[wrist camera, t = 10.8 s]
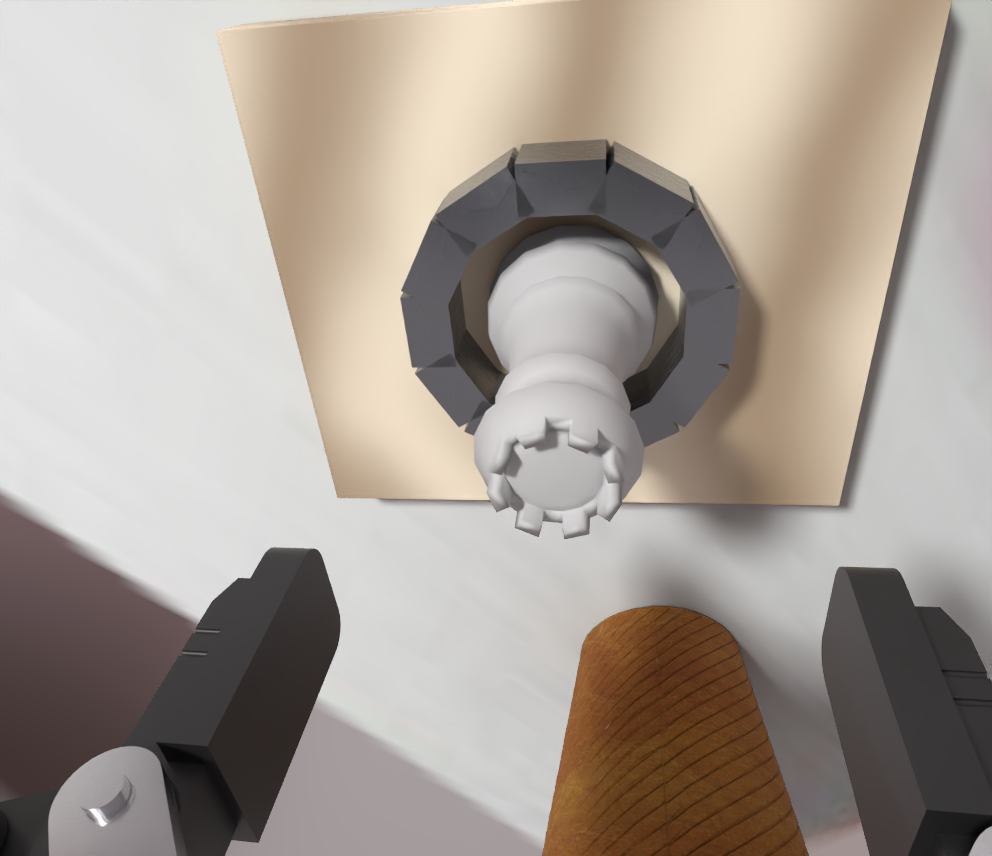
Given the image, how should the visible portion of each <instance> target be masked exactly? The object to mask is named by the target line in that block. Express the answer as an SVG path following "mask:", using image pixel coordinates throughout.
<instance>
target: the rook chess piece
mask: <svg viewBox="0 0 992 856" xmlns="http://www.w3.org/2000/svg"><path fill="white" fill-rule="evenodd" d="M658 299H659V295H658V292H657V289H656V286H655V282H654V279H653V276H652V273H651V270H650V267H649V265H648V264H647V263H646V262H645V261H644V260H643V258H642V257H641V256H640V255H639V254H638V253H637V252H636V251H635V250H634V248H633V247H632V246H631V245H630V244H629V243H628V242H627V241H625V240H623V239H621V238H619V237H617V236H615V235H612V234H610V233H608V232H606V231H604V230H601V229H599V228H597V227H592V226H568V225H559V226H556V227H553V228H550V229H547V230H545V231H542V232H539V233H536V234H533V235H531V236H528V237H526V238H525V239H524V240H523V241H522V242H521V243H519V244H518V245H517V246H516V247H515V248H514V249H513V250H512V251H511V252H510V253H508V254H507V255H506V256H505V257H504V258H503V259H502V261H501V263H500V265H499V268H498V270H497V272H496V274H495V277H494V279H493V281H492V283H491V286H490V298H489V301H488V334H489V337H490V340H491V342H492V344H493V347H494V349H495V351H496V353H497V355H498V358H499V360H500V362H501V364H502V366H504V367H505V368H506V369H507V370H508V372H509V374H508V375H506V376H505V378H504V380H503V382H502V384H501V386H500V388H499V390H498V392H497V394H496V396H495V404H494V405H493V406H492V407H490V408H489V409H488V410H487V411H486V412H485V414H484V416H483V418H482V420H481V422H480V424H479V426H478V428H477V430H476V432H475V434H474V463H475V465H476V467H477V469H478V470H479V472H480V474H481V476H482V478H483V480H484V482H485V484H486V486H487V487H488V488H487V492H486V493H487V495H488V497H489V499H490V501H491V502H492V504H493V506H494V508H495V510H496V512H498V511H501V510H503V509H505V508H508V507H509V506H510V507H511V508H513V509H514V510H516V511H517V517H516V524H515V528H517V529H520V530H522V531H525V532H527V533H530V534H532V535H535V536H537V537H539V534H540V531H541V528H542V521H547V522H559V523H563V524H562V530H563V535H564V539H568V538H573V537H577V536H582V535H587V534H589V526H590V517H593V516H595V515H600V516H601V517H603V518H604V519H606V520H608V521H609V522H610V520H611V519H612V517H613V516H614V515H615V513H616V512H617V510H618V509H619V507H620V506H621V505H622V500H623V499H624V498H625V497H626V496H627V494H628V493H629V492H630V490H631V489H632V487H633V486H634V484H635V483H636V482H637V480H638V479H639V477H640V476H641V471H642V464H643V457H644V449H645V448H644V445H643V442H642V440H641V437H640V434H639V431H638V429H637V426H636V423H635V421H634V420H633V419H632V418H631V417H630V407H631V405H630V402H629V400H628V397H627V394H626V392H625V389H624V386H623V384H622V383H623V382H624V381H625V380H626V379H627V378H629V377H630V376H631V375H633V374H634V373H635V372H636V370H637V369H638V367H639V366H640V364H641V362H642V361H643V359H644V358H645V356H646V354H647V353H648V351H649V350H650V348H651V346H652V344H653V342H654V336H655V329H656V321H657V314H658V311H657V307H658Z"/></svg>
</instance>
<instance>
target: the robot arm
mask: <svg viewBox="0 0 992 856" xmlns="http://www.w3.org/2000/svg"><path fill="white" fill-rule="evenodd" d="M339 636H340V614H339V610H338V606H337V603H336V600H335V597H334V594H333V590H332V587H331V584H330V581H329V578H328V574H327V571H326V568H325V565H324V561H323V558H322V556H321V554H320V552H319V551H318V550H317V549H305V548H270V549H269V550H268V551H267V552H266V553H265V554H264V556H263V558H262V559H261V561H260V563H259V564H258V566H257V568H256V570H255V571H254V573H253V575H252V577H251V578H250V579H248V578H238V579H237V580H236V581H235V582H233V583H232V584H231V585H230V586H229V587H228V588H227V589H226V590H224V591H223V592H222V593H221V594H220V595H219V596H218V597H217V598H215V599H214V600H213V601H212V603H211V604H210V606H209V607H208V609H207V611H206V612H205V614H204V616H203V617H202V619H201V620H200V622H199V624H198V625H197V627H196V633H195V634H194V633H193V634H192V635H191V637H190V638H189V640H188V642H187V643H186V645H185V647H184V648H183V650H182V651H183V653H182V656H178V658H177V660H176V661H175V663H174V664H173V666H172V668H171V669H170V671H169V673H168V674H167V676H166V677H165V679H164V681H163V682H162V684H161V686H160V687H159V689H158V690H157V692H156V694H155V695H154V697H153V699H152V700H151V702H150V703H149V705H148V707H147V709H146V710H145V711H144V713H143V715H142V716H141V718H140V720H139V721H138V723H137V725H136V726H135V728H134V729H133V731H132V733H131V734H130V736H129V737H128V739H127V740H126V742H125V743H124V745H123V746H122V747H120V748H116V749H113V750H110V751H107V752H105V753H102V754H100V755H98V756H96V757H95V758H93V759H91V760H90V761H88V762H87V763H85V764H84V765H83V766H81V767H80V768H79V769H78V770H77V771H75V772H74V774H73V775H72V776H71V777H70V778H69V779H68V780H67V781H66V782H65V784H64V785H63V786H62V787H61V788H58V789H54V790H50V791H46V792H41V793H38V794H33V795H29V796H25V797H20V798H16V799H12V800H8V801H3V802H0V856H225V853H226V851H227V849H228V846H229V844H230V842H231V840H239V841H247V842H257V843H258V842H259V840H260V838H261V835H262V832H263V830H264V828H265V825H266V823H267V820H268V818H269V815H270V813H271V810H272V808H273V806H274V803H275V800H276V798H277V795H278V793H279V791H280V788H281V786H282V783H283V781H284V778H285V776H286V773H287V771H288V768H289V766H290V763H291V761H292V758H293V756H294V754H295V751H296V748H297V746H298V743H299V741H300V739H301V736H302V734H303V731H304V729H305V726H306V724H307V721H308V719H309V716H310V714H311V711H312V709H313V706H314V704H315V702H316V699H317V697H318V694H319V692H320V689H321V687H322V684H323V682H324V679H325V677H326V674H327V672H328V669H329V667H330V664H331V662H332V659H333V657H334V654H335V652H336V649H337V646H338V642H339ZM822 666H823V673H824V678H825V683H826V687H827V691H828V694H829V698H830V702H831V706H832V710H833V714H834V718H835V722H836V726H837V730H838V733H839V737H840V741H841V745H842V749H843V753H844V757H845V761H846V765H847V768H848V772H849V776H850V780H851V784H852V788H853V792H854V796H855V800H856V804H857V807H858V811H859V815H860V819H861V823H862V827H863V831H864V835H865V839H866V842H867V846H868V850H869V854H870V856H992V682H991V680H990V679H988V678H987V671H986V669H985V667H984V665H983V663H982V661H981V659H980V657H979V655H978V652H977V650H976V648H975V646H974V644H973V642H972V640H971V638H970V637H969V636H968V635H967V634H966V633H965V632H964V631H963V630H962V629H961V628H960V627H959V626H958V625H957V624H956V623H955V622H954V621H953V620H952V619H951V618H950V617H949V616H948V615H947V614H946V613H945V612H944V611H943V610H942V609H941V608H940V607H916V606H914V604H913V601H912V599H911V596H910V594H909V591H908V589H907V587H906V584H905V582H904V579H903V577H902V575H901V574H900V572H899V571H898V570H897V569H895V568H865V567H839V568H838V570H837V572H836V575H835V579H834V584H833V589H832V593H831V598H830V603H829V608H828V612H827V617H826V622H825V627H824V631H823V637H822Z"/></svg>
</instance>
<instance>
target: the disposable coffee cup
mask: <svg viewBox="0 0 992 856" xmlns="http://www.w3.org/2000/svg"><path fill="white" fill-rule="evenodd" d="M752 690H753V689H752V686H751V683H750V680H749V678H748V674H747V671H746V668H745V665H744V662H743V659H742V656H741V653H740V650H739V646H738V644H737V643H736V641H735V639H734V637H733V636H732V635H731V634H730V633H729V632H728V631H727V630H726V629H725V628H724V627H723V626H722V625H720V624H718V623H717V622H715V621H714V620H712V619H711V618H709V617H706V616H704V615H701V614H699V613H697V612H694V611H690V610H687V609H682V608H675V607H668V606H649V607H642V608H635V609H630V610H627V611H623V612H620V613H617V614H615V615H613V616H611V617H609V618H607V619H605V620H604V621H602V622H601V623H600V624H598V625H597V626H596V627H594V628H593V629H592V631H591V632H590V633H589V634H588V635H587V637H586V639H585V641H584V643H583V645H582V650H581V655H580V662H579V666H578V671H577V678H576V683H575V688H574V693H573V699H572V703H571V709H570V714H569V719H568V724H567V728H566V733H565V739H564V745H563V750H562V755H561V761H560V766H559V772H558V776H557V780H556V786H555V792H554V796H553V801H552V807H551V812H550V816H549V822H548V828H547V832H546V838H545V844H544V849H543V853H542V856H809V854H808V852H807V849H806V846H805V842H804V839H803V836H802V834H801V831H800V828H799V826H798V821H797V819H796V816H795V813H794V810H793V808H792V806H791V801H790V798H789V795H788V792H787V790H786V787H785V783H784V780H783V777H782V774H781V772H780V770H779V765H778V762H777V760H776V757H775V754H774V750H773V748H772V745H771V742H770V739H769V737H768V735H767V734H768V733H767V730H766V727H765V724H764V722H763V718H762V716H761V713H760V710H759V707H758V704H757V701H756V698H755V695H754V692H753V691H752Z"/></svg>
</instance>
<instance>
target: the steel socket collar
mask: <svg viewBox="0 0 992 856" xmlns="http://www.w3.org/2000/svg"><path fill="white" fill-rule="evenodd" d="M592 214H596V215H598V216H600V217H602V218H604V219H606V220H608V221H610V222H612V223H614V224H616V225H618V226H619V227H621V228H623V229H625V230H627V231H629V232H631V233H633V234H635V235H637V236H639V237H641V238H643V239H644V240H646V241H648V242H650V243H652V244H654V245H656V247H657V248H658V250H659V252H660V254H661V255H662V257H663V259H664V260H665V262H666V264H667V265H668V267H669V269H670V271H671V272H672V274H673V276H674V277H675V279H676V281H677V282H678V284H679V286H680V298H679V316H678V325H677V326H676V328H675V329H674V331H673V332H672V334H671V335H670V336H669V338H668V339H667V341H666V342H665V344H664V345H663V346H662V348H661V349H660V351H659V352H658V354H657V355H656V356H655V358H654V359H653V361H652V362H651V364H650V365H649V366H648V368H647V369H645V370H643V371H641V372H639V373H637V374H635V375H633V376H631V377H629V378H627V379H626V380H625V381H624V382H623V383H622V384H623V386H624V389H625V392H626V394H627V397H628V400H629V402H630V405H631V407H630V417H631V418H632V419H633V420H634V421H635V423H636V426H637V429H638V431H639V434H640V437H641V440H642V442H643V445H644V448H645V447H647V446H649V445H651V444H653V443H656V442H658V441H660V440H662V439H665V438H667V437H669V436H671V435H673V434H676V433H678V432H679V426H678V425H680V426H682V427H684V428H685V427H686V425H687V424H688V423H689V422H690V420H691V419H692V418H693V417H694V415H695V414H696V413H697V411H698V410H699V409H700V408H701V406H702V405H703V404H704V403H705V401H706V400H707V399H708V397H709V396H710V395H711V394H712V392H713V391H714V390H715V389H716V387H717V386H718V385H719V383H720V382H721V381H722V380H723V378H724V377H725V376H726V374H727V373H728V372H729V371H730V369H729V365H728V364H733V355H734V346H735V336H736V327H737V317H738V308H739V298H740V286H739V283H738V282H739V280H738V277H737V274H736V271H735V269H734V266H733V263H732V260H731V257H730V255H729V252H728V250H727V248H726V247H725V245H724V243H723V241H722V239H721V237H720V236H719V234H718V232H717V230H716V228H715V226H714V224H713V223H712V221H711V219H710V217H709V215H708V213H707V212H706V210H705V208H704V206H703V204H702V202H701V200H700V199H699V197H698V195H697V193H696V191H695V189H694V188H693V186H691V187H689V185H688V182H687V180H686V179H684V178H682V177H680V176H678V175H677V174H675V173H673V172H671V171H669V170H667V169H665V168H664V167H662V166H660V165H658V164H656V163H654V162H652V161H651V160H649V159H647V158H645V157H643V156H641V155H639V154H638V153H636V152H634V151H632V150H630V149H628V148H626V147H625V146H623V145H621V144H619V143H617V142H615V141H614V142H613V144H612V146H611V147H610V149H609V151H608V153H607V155H606V139H600V140H582V141H565V142H548V143H531V144H522V146H521V148H520V151H519V152H518V151H517V149H516V148H515V147H513V148H512V149H510V150H509V151H508V152H506V153H505V154H503V155H502V156H500V157H499V158H497V159H496V160H495V161H493V162H492V163H490V164H489V165H487V166H486V167H484V168H483V169H482V170H480V171H479V172H477V173H476V174H474V175H473V176H471V177H470V178H468V179H467V180H466V181H464V182H463V183H461V184H460V185H458V186H457V187H455V188H454V189H453V190H451V191H450V192H449V193H448V195H447V197H446V198H444V200H443V201H442V203H441V205H440V206H439V208H438V210H437V211H436V213H435V215H434V216H433V218H432V220H431V221H430V224H429V226H428V229H427V231H426V233H425V236H424V238H423V240H422V243H421V245H420V247H419V250H418V252H417V254H416V257H415V259H414V261H413V264H412V266H411V268H410V271H409V273H408V275H407V278H406V280H405V282H404V285H403V287H402V289H401V291H402V292H403V294H402V295H401V297H400V300H401V306H402V312H403V318H404V324H405V330H406V336H407V342H408V348H409V353H410V359H411V365H412V368H417V370H416V372H415V375H416V376H417V377H418V378H419V380H420V381H421V382H422V383H423V384H424V386H425V387H426V388H427V389H428V391H429V392H430V393H431V394H432V395H433V397H434V398H435V399H436V400H437V401H438V403H439V404H440V405H441V406H442V408H443V409H444V410H445V411H446V412H447V414H448V415H449V416H450V417H451V419H452V420H453V421H454V422H455V423H456V425H457V426H458V427H461V426H463V425H465V424H466V427H465V430H464V432H466V433H468V434H471V435H473V436H474V434H475V432H476V430H477V428H478V426H479V424H480V422H481V420H482V418H483V416H484V414H485V412H486V411H487V410H488V409H489V408H490V407H492V406H493V405H494V404H495V396H496V394H497V392H498V390H499V388H500V386H501V384H502V382H503V380H504V378H505V376H506V375H507V374H505V373H503V372H501V371H499V370H497V369H496V367H495V366H494V365H493V363H492V362H491V361H490V359H489V358H488V357H487V355H486V354H485V353H484V351H483V350H482V349H481V347H480V346H479V345H478V343H477V342H476V341H475V340H474V338H473V337H472V336H471V334H470V333H469V332H468V330H467V329H466V322H465V314H464V305H463V297H462V289H461V280H460V279H461V277H462V275H463V273H464V270H465V268H466V266H467V264H468V262H469V260H470V258H471V256H472V254H473V252H474V251H476V250H477V249H479V248H480V247H482V246H483V245H485V244H487V243H488V242H490V241H491V240H493V239H494V238H496V237H497V236H499V235H501V234H502V233H504V232H505V231H507V230H508V229H510V228H512V227H513V226H515V225H516V224H518V223H519V222H521V221H523V220H524V219H526V218H527V217H546V216H569V215H592Z"/></svg>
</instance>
